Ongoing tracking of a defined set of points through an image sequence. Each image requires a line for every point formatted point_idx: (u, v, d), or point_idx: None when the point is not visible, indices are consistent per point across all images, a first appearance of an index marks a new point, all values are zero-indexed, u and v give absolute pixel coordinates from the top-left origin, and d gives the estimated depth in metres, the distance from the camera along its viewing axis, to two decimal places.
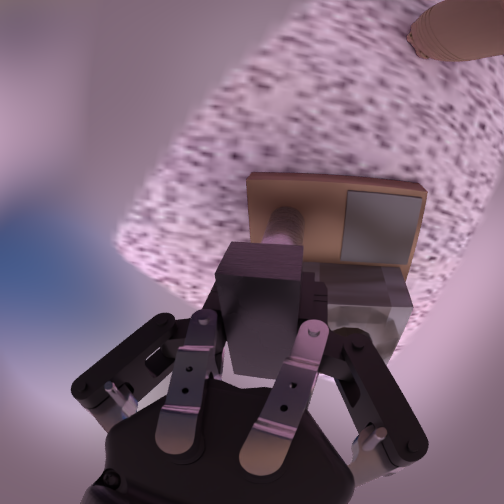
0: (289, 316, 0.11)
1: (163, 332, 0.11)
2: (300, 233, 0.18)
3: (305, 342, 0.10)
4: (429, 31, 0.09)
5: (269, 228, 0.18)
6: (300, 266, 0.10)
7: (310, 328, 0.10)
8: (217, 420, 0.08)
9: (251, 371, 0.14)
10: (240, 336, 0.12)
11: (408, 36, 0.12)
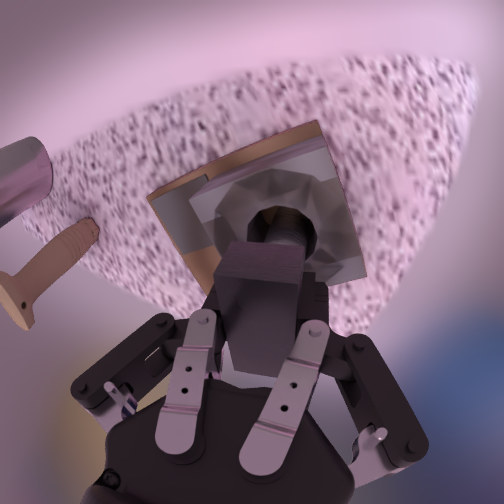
0: (287, 318, 0.11)
1: (162, 332, 0.11)
2: (305, 229, 0.18)
3: (306, 342, 0.10)
4: (75, 263, 0.26)
5: (273, 224, 0.18)
6: (299, 268, 0.10)
7: (311, 328, 0.10)
8: (217, 419, 0.08)
9: (251, 369, 0.14)
10: (239, 335, 0.12)
11: (94, 242, 0.29)
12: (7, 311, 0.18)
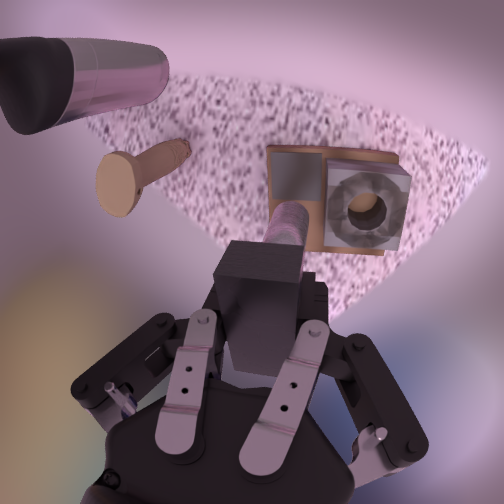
0: (287, 317, 0.11)
1: (162, 332, 0.11)
2: (304, 229, 0.18)
3: (306, 342, 0.10)
4: None
5: (272, 223, 0.18)
6: (299, 268, 0.10)
7: (311, 328, 0.10)
8: (217, 419, 0.08)
9: (251, 368, 0.14)
10: (239, 334, 0.12)
11: None
12: (98, 193, 0.23)
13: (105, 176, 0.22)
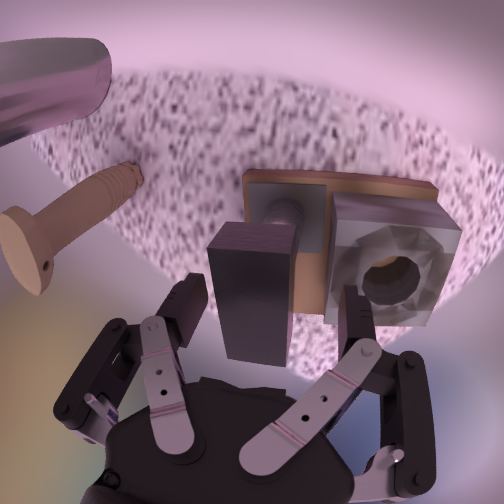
0: (279, 293, 0.11)
1: (115, 336, 0.11)
2: (298, 223, 0.18)
3: (360, 363, 0.09)
4: (108, 215, 0.21)
5: (267, 217, 0.18)
6: (291, 242, 0.11)
7: (364, 347, 0.09)
8: (217, 420, 0.08)
9: (244, 356, 0.14)
10: (232, 315, 0.12)
11: None
12: (8, 260, 0.13)
13: (6, 242, 0.12)
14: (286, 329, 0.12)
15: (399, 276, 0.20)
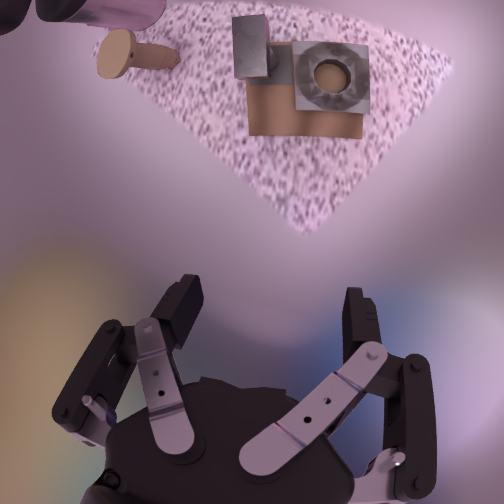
0: (261, 29, 0.19)
1: (109, 338, 0.10)
2: (274, 53, 0.27)
3: (366, 367, 0.09)
4: (159, 67, 0.30)
5: None
6: (265, 16, 0.19)
7: (370, 350, 0.09)
8: (217, 419, 0.08)
9: (244, 72, 0.22)
10: (239, 45, 0.21)
11: None
12: (98, 63, 0.22)
13: (106, 47, 0.21)
14: (265, 48, 0.20)
15: (344, 89, 0.28)
